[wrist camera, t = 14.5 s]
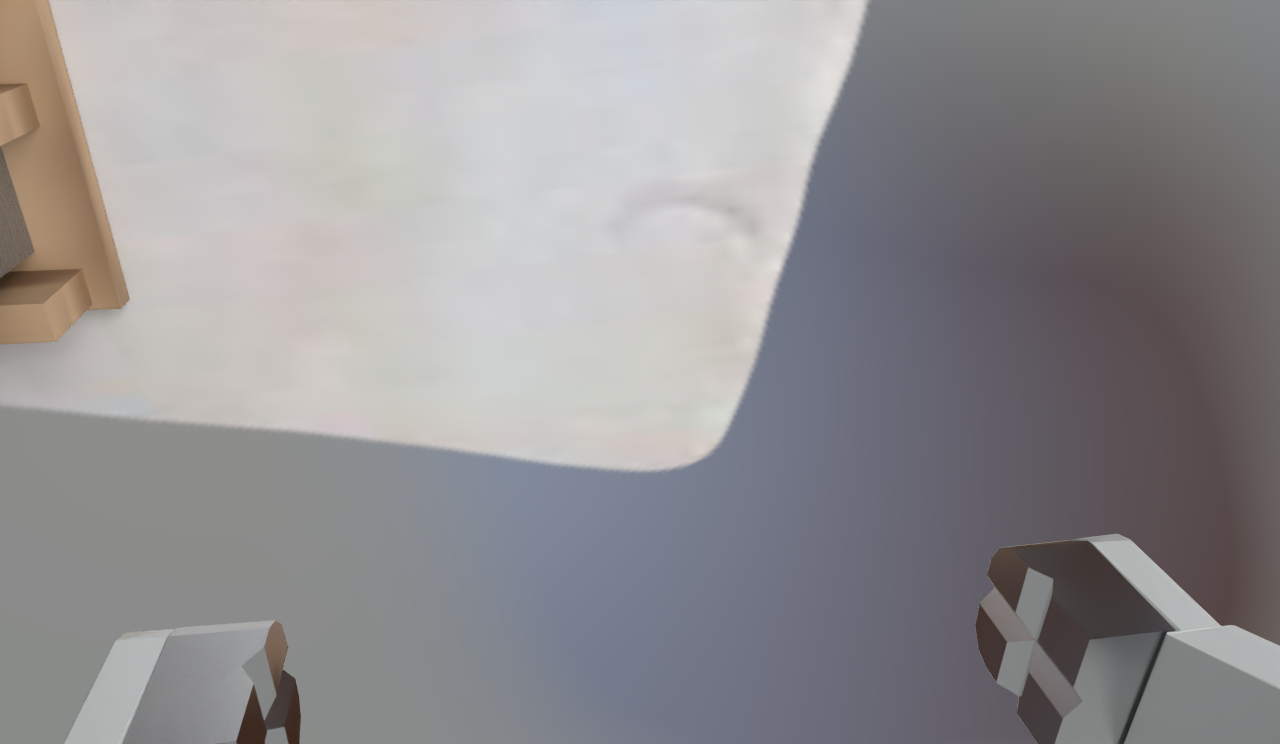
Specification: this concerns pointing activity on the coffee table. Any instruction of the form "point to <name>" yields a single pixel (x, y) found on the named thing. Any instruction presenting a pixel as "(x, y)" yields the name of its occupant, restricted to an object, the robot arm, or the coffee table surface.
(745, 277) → the coffee table surface
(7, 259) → the grey block
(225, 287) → the coffee table surface
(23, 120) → the twin post stand
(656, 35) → the coffee table surface
